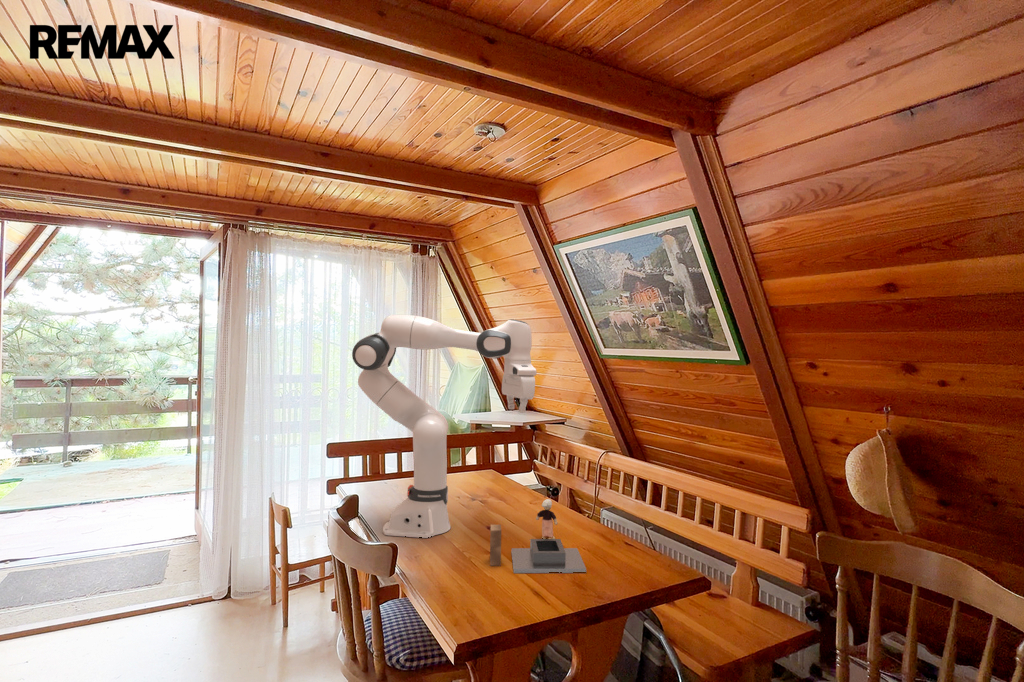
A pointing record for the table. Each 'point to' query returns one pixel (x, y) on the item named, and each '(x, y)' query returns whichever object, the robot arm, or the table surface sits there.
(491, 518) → the table surface
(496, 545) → the walnut wedge
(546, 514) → the grandmother figurine
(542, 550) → the grey socket base
